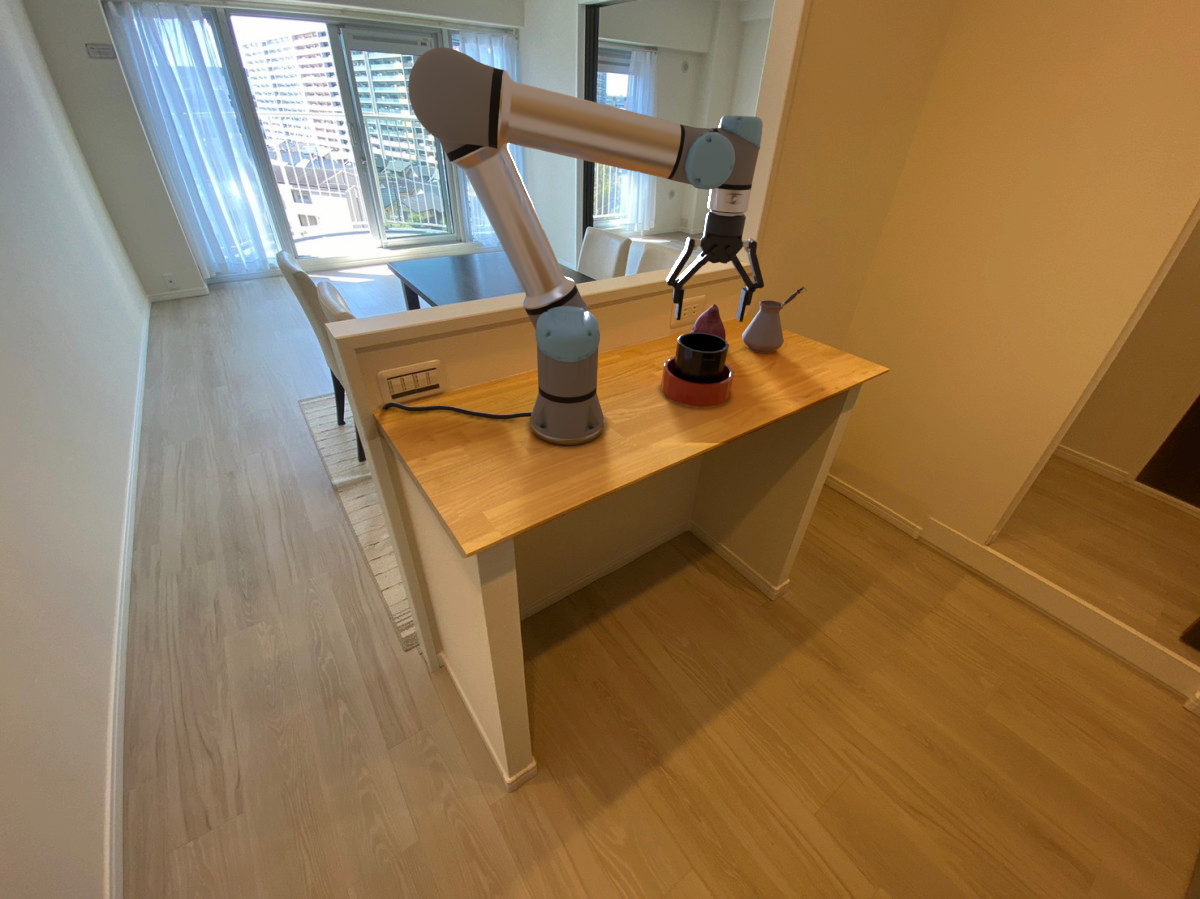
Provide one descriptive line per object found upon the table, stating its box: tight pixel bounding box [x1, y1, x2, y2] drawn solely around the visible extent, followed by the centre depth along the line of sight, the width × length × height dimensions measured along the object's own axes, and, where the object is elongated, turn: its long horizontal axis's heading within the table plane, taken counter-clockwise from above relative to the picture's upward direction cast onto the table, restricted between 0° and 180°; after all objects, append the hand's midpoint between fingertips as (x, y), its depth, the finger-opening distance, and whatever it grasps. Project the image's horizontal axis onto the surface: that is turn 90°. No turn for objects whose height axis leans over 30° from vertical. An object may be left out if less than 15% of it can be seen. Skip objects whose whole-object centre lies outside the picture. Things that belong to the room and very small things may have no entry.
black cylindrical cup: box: [673, 332, 730, 384], centre depth 114 cm, size 11×14×12 cm
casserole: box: [660, 355, 735, 408], centre depth 116 cm, size 16×16×6 cm
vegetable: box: [690, 303, 726, 340], centre depth 134 cm, size 10×10×15 cm
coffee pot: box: [741, 286, 808, 354], centre depth 139 cm, size 21×12×15 cm, turn 130°
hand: (708, 318), depth 107 cm, fingers open, 13 cm apart
